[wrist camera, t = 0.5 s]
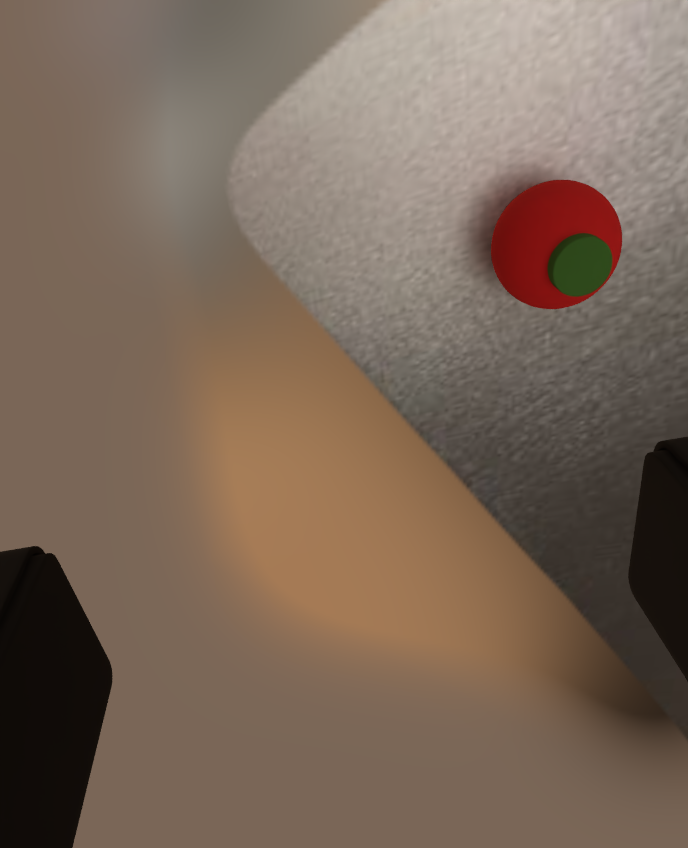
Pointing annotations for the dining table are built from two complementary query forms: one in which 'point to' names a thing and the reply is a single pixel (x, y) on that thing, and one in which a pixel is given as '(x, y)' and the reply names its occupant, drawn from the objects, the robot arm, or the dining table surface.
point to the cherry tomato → (556, 244)
